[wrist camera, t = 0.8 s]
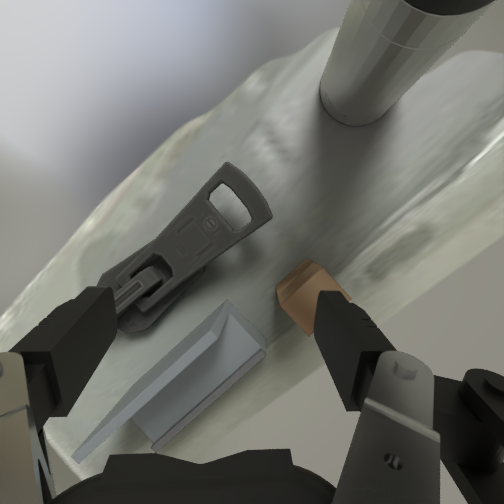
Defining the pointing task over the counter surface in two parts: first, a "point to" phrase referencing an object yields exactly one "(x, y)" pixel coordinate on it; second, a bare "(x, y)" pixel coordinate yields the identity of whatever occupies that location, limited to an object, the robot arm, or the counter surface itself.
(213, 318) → the board
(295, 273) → the cabinet
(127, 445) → the counter surface
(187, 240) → the zipper pull
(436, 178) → the counter surface
